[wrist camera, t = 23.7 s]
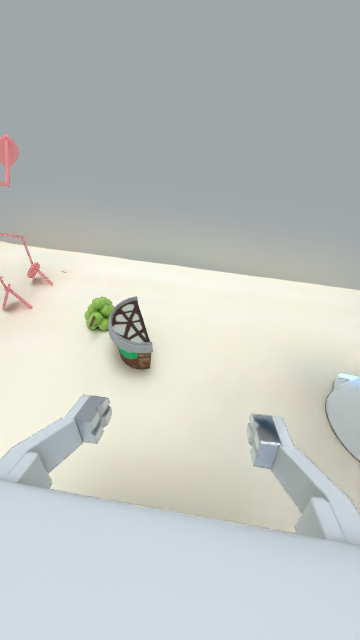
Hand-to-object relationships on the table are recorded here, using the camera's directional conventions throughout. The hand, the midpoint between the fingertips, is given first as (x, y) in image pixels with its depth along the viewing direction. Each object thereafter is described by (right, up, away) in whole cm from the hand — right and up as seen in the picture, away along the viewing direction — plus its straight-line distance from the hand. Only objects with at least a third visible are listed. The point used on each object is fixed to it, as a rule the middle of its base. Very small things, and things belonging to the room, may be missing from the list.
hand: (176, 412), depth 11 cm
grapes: (-18, +5, +33) cm, 38 cm away
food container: (-10, -2, +28) cm, 30 cm away
